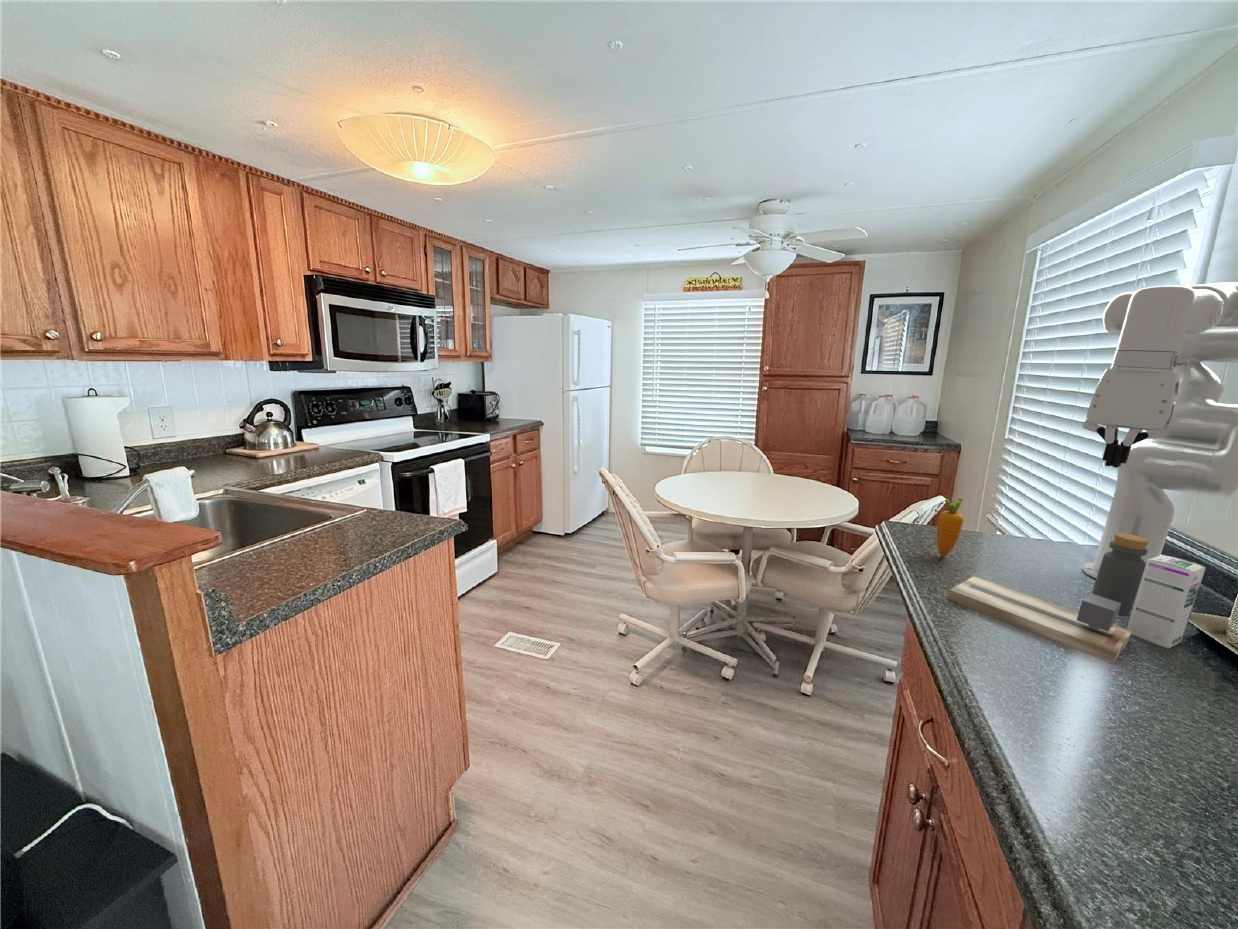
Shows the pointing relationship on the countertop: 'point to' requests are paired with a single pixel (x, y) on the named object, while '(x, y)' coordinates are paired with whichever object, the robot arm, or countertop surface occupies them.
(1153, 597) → the syrup box
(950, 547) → the carrot
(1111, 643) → the fader board
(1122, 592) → the bottle
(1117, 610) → the fader knob
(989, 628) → the countertop surface
